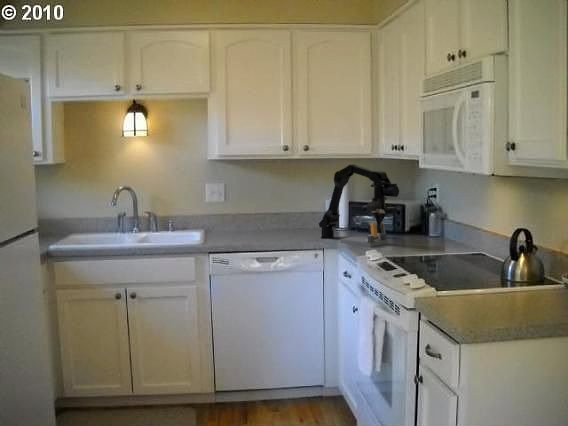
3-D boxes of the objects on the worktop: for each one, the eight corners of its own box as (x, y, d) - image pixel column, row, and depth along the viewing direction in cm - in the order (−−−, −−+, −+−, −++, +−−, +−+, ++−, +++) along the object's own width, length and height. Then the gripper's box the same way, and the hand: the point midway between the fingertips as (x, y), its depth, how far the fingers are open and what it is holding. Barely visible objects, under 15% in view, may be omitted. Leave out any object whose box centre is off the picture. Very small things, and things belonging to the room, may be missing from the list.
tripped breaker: (370, 240, 295) (369, 223, 295) (375, 239, 298) (374, 222, 297) (374, 240, 294) (372, 223, 293) (378, 239, 296) (377, 222, 296)
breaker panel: (340, 242, 303) (340, 232, 302) (357, 239, 313) (357, 229, 313) (370, 247, 289) (370, 236, 288) (387, 243, 299) (387, 233, 299)
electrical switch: (385, 237, 319) (385, 221, 317) (382, 239, 315) (381, 223, 313) (370, 236, 324) (370, 220, 322) (366, 238, 320) (366, 222, 318)
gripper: (355, 195, 292) (355, 225, 294) (385, 198, 279) (384, 229, 281) (368, 194, 300) (368, 223, 302) (398, 196, 286) (397, 226, 288)
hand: (379, 225), depth 293 cm, fingers closed
